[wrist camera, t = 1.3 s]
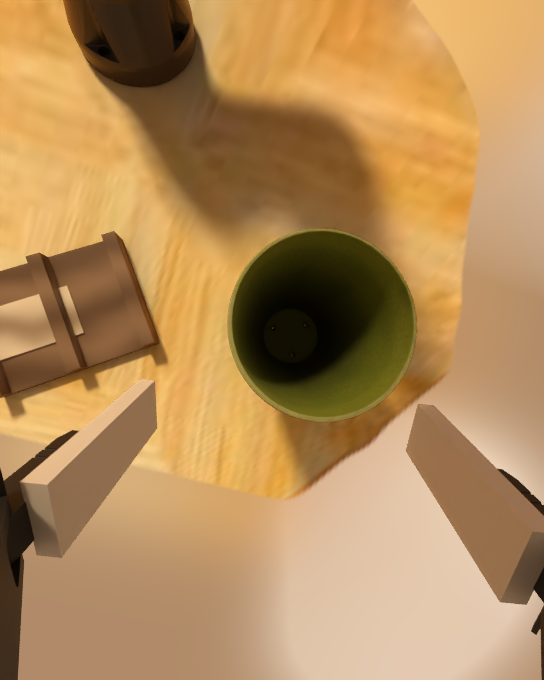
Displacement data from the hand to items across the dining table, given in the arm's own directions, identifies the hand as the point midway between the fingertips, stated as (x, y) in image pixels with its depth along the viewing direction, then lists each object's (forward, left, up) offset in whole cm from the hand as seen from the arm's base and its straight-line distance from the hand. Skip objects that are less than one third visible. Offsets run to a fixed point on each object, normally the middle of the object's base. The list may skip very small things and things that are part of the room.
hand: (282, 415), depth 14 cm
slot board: (-16, -19, -22) cm, 33 cm away
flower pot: (-4, +6, -23) cm, 24 cm away
